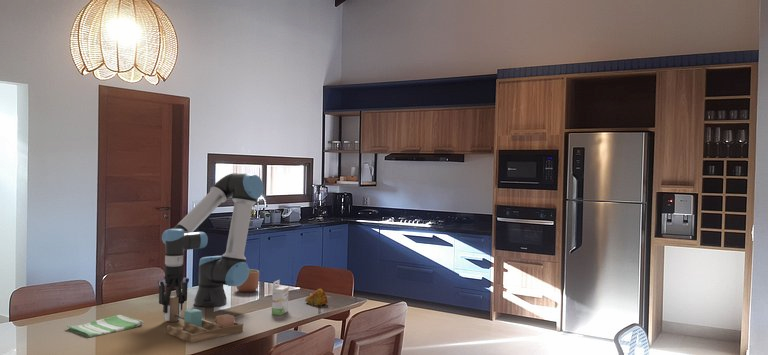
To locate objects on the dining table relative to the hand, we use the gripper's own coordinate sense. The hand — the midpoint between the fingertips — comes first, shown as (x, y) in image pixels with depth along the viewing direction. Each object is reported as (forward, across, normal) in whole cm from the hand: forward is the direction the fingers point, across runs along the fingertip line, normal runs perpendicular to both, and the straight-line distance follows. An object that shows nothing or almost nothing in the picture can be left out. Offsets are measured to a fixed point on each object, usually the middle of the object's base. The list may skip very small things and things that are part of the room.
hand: (172, 319), depth 251 cm
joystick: (+1, 0, -8) cm, 8 cm away
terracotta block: (+1, +7, -28) cm, 29 cm away
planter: (+1, +61, +30) cm, 68 cm away
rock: (+1, +68, -18) cm, 71 cm away
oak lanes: (+1, 0, -25) cm, 25 cm away
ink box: (+1, +43, -20) cm, 47 cm away
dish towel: (+1, -25, +8) cm, 26 cm away
